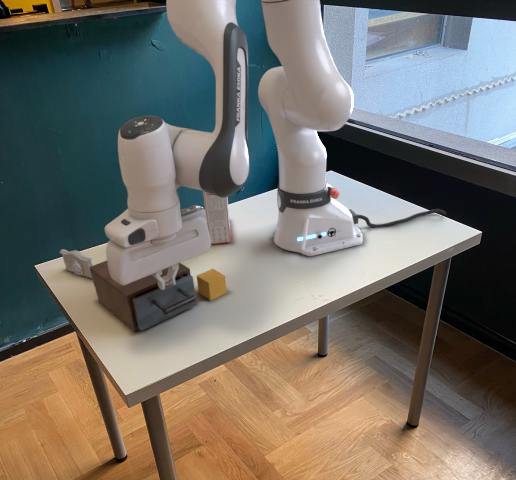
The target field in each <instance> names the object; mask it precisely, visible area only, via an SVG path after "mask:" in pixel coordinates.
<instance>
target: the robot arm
mask: <svg viewBox="0 0 516 480" xmlns="http://www.w3.org/2000/svg"><path fill="white" fill-rule="evenodd" d="M165 4H166V7H165V8H166V16H167V21H168V22H169V26H170V27H171V30H172V31H173V33H174V35H175V36H176V37H177V38H178V40H179V41H180V42H181V43H182V44H183V45H184V46H186V47H187V48H189V50H192V51H193V52H195V53H197V54H198V55H200V56H201V57H203V58H204V59H205V60H206V61H207V62H208V63H209V64H210V66H211V68H212V70H213V73H214V76H215V125H214V129H213V131H212V132H210V131H202V130H197V129H192V128H186V127H180V126H176V125H171V124H169V123H167V122H165V120H164V119H163V118H161V117H160V116H157V115H142V116H138V117H133V118H131V119H129V120H128V121H126V122H124V124H122V125H121V126H120V128H119V130H118V135H117V154H118V162H119V168H120V175H121V180H122V182H123V185H124V186H125V188H126V193H127V198H126V199H127V202H126V203H127V209H125V210H124V211H123V212H122V213H121V214H119V215H118V216H117V217H115V218H114V219H112V221H110V222H109V223H107V224H106V225H105V226H104V233H105V236H106V237H107V238H108V239H109V240H108V241H107V243H106V248H105V255H106V261H107V264H108V269H109V273H110V276H111V278H112V279H113V280H115V281H116V282H117V283H119V284H121V285H127V284H129V283H132V282H134V281H136V280H139V279H141V278H144V277H146V276H149V275H152V276H153V277H154V278H155V279H156V280H157V282H158V287H159V288H160V289H161V290H164V289H167V288H169V287H171V286H173V285H176V282H175V277H176V274H177V272H178V269H179V265H178V263H181V264H182V263H183V262H185V261H188V260H190V259H193V258H195V257H197V256H200V255H202V254H206V253H208V252H209V251H210V249H211V246H212V244H211V240H210V235H209V231H208V227H207V220H206V212H205V207H203V206H200V205H198V204H193V205H191V206H189V207H185V208H182V209H181V202H180V196H179V194H178V192H177V191H178V189H180V187H184V188H188V189H193V190H197V191H201V192H203V191H204V192H207V193H210V194H213V195H216V196H219V197H222V198H225V197H227V198H229V197H231V196H232V195H234V194H235V193H236V192H238V191H239V190H240V189H242V187H243V186H244V185H246V183H247V181H248V179H249V176H250V172H251V154H250V147H249V140H248V139H249V137H248V136H249V135H248V126H249V125H248V123H249V120H248V119H249V116H248V115H249V48H248V47H249V46H248V41H247V37H246V34H245V32H244V30H243V28H241V27H239V24H238V20H237V9H236V7H237V5H236V4H237V0H166V2H165ZM260 4H261V7H262V8H261V9H262V15H263V20H264V26H265V33H266V38H267V44H268V46H269V48H270V49H271V51H272V53H273V54H274V55H275V57H276V58H277V59H278V61H279V62H280V64H281V66H276V67H272V68H270V69H268V70H267V71H266V72H265V73H264V74H263V75H262V77H261V78H260V80H259V83H258V84H259V85H258V88H257V97H258V101H259V103H260V105H261V107H262V108H263V110H264V111H265V113H266V115H267V118H268V120H269V123H270V126H271V129H272V133H273V136H274V140H275V144H276V149H277V157H278V185H277V192H276V204H277V209H278V213H277V214H278V215H277V223H276V228H275V233H274V236H273V242H274V244H275V245H276V246H277V247H279V248H281V249H283V250H286V251H289V252H295V253H299V254H301V255H304V256H308V257H313V256H318V255H322V254H327V253H331V252H335V251H339V250H342V249H343V250H344V249H347V248H351V247H355V246H359V245H362V244H363V239H364V238H363V233H362V230H361V229H360V228H359V227H358V226H357V225H358V224H359V219H360V220H363V221H365V223H366V225H367V226H368V227H370V228H372V229H375V228H377V229H378V228H388V227H392V226H396V225H399V224H404V223H407V222H409V221H413V220H414V219H416V218H420V217H423V216H428V215H432V214H440V215H442V216H447V215H448V214H447V212H446V211H445V210H443V209H440V208H435V209H430V210H426V211H421V212H418V213H414V214H412V215H409V216H407V217H405V218H400V219H397V220H393V221H390V222H385V223H379V224H377V223H371V221H370V218H369V217H368V216H365V215H362V214H358V213H357V212H355V211H354V210H353V209H352V208H349V209H348V208H347V207H346V206H345V205H343V204H342V203H340V202H339V201H338V200H337V199H338V198H339V197H340V191H338V189H337V188H336V187H333V186H332V184H330V183H328V182H327V180H326V178H327V157H328V155H327V150H326V147H325V146H324V144H323V143H322V141H321V139H320V138H319V136H318V132H334V131H337V130H340V129H342V128H343V127H344V126H345V125H346V123H347V122H348V121H349V119H350V117H351V116H352V112H353V108H354V93H353V90H352V88H351V86H350V85H349V84H348V83H347V81H346V80H345V79H344V78H343V76H342V74H340V72H339V70H338V68H337V66H336V63H335V61H334V59H333V56H332V54H331V51H330V48H329V45H328V42H327V39H326V35H325V32H324V31H325V30H324V25H323V19H322V11H321V1H320V0H260ZM168 267H169V269H168V273H167V275H166V276H164V277H160V275H162V270H164V269H166V268H168Z"/></svg>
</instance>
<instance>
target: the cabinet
mask: <svg viewBox="0 0 516 480" xmlns="http://www.w3.org/2000/svg"><path fill="white" fill-rule="evenodd" d="M178 265H179V269H178V272H177V274H176V277H175V278H177V277H180V276H182V275H183V277H185V276H187V275H191V276H192V274H191V268H190V267H188V266H186V265H184V264H183V263H182V262H181V263H178ZM89 268H90V272H91V275H92V278H91V279H92V282H93V286H94V289H95V293H96V297H97V301H98V302H99V303H100V304H101V305H102V306H103V307H104V308H105V309H107V310H108V311H109V312H110V313H112V314H113V315H114V316H115V317H116V318H118V319H119V320H120V322H122V323H124V324H125V325H126V326H127V327H129V329H130V330H132V331H133V332H135V333H136V332H139V331H141V330H140V329H139V328H138V324H137V322H136V317H135V313H134V308H133V304H132V299H131V297H134V296H136V295H138V294H141V293H143V292H145V291H147V290H150V289H152V288H154V287H157V286H158V282H157V280H156V279H155V278H154V277H153V276H152V275H149V276H146V277H144V278H141V279H139V280H136V281H134V282H132V283H129V284H127V285H121V284H119V283H117V282H116V281H115V280H113V279H112V278H111V276H110V273H109V269H108V264H107V260H103V261H102V262H99V263H96V264H94V265H92V266H91V267H89ZM168 269H169V267H168V268H166V269H164V270H162V275H160V277H164V276H166V275H167V273H168Z"/></svg>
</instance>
